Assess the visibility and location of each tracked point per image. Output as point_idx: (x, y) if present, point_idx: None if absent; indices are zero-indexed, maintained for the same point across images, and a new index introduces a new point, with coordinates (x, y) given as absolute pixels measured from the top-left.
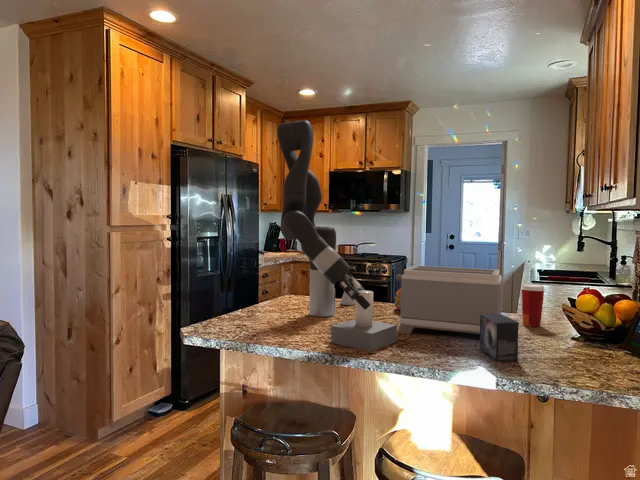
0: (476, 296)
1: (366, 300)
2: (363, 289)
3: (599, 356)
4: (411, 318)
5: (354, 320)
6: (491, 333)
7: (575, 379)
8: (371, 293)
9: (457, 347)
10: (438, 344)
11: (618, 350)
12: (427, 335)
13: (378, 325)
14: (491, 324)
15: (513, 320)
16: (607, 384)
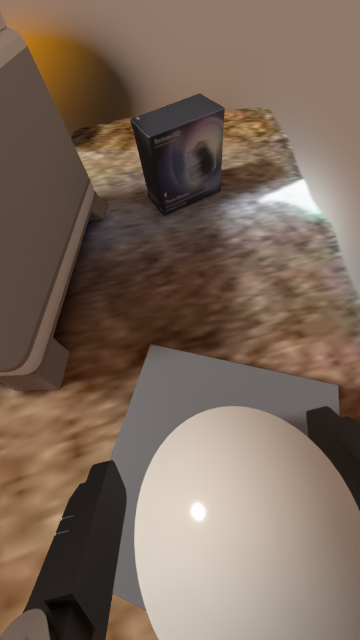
0: (38, 121)
1: (355, 436)
2: (37, 632)
3: (132, 133)
4: (36, 330)
5: (132, 572)
6: (209, 147)
7: (245, 133)
8: (266, 412)
9: (157, 244)
10: (148, 274)
11: (98, 127)
12: (72, 311)
13: (189, 404)
14: (206, 126)
15: (190, 98)
16: (244, 119)
